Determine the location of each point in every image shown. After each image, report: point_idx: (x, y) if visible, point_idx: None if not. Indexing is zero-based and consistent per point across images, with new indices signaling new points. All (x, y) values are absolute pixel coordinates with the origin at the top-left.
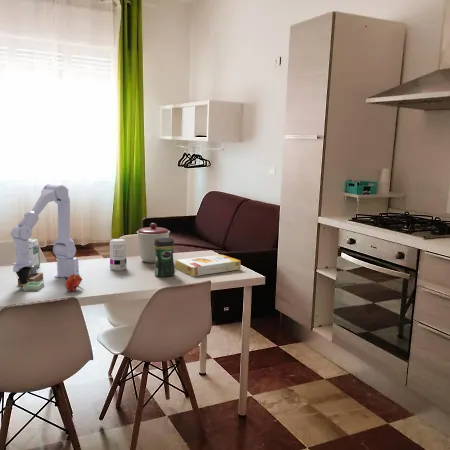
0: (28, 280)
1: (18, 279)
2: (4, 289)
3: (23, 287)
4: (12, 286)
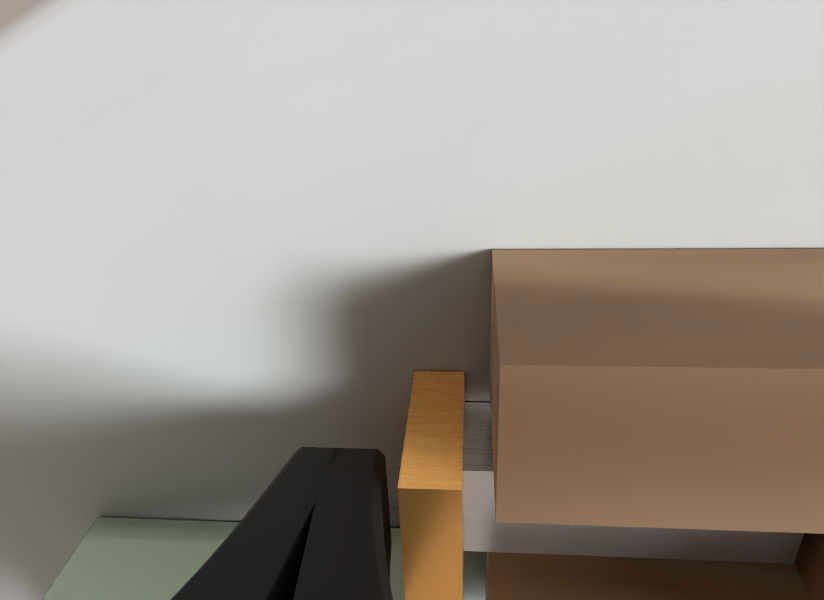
0: (666, 528)
1: (501, 374)
2: (4, 37)
3: (59, 578)
4: (365, 132)
